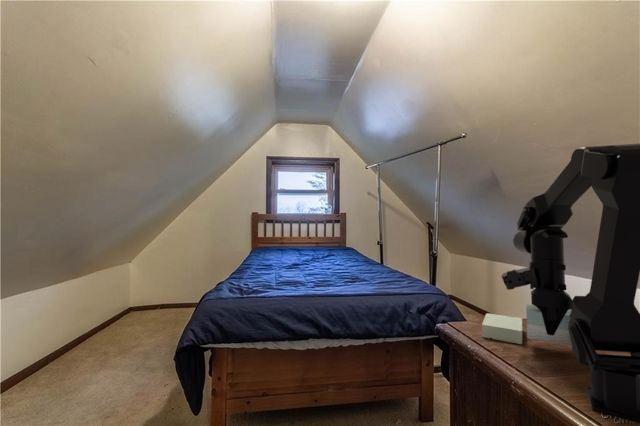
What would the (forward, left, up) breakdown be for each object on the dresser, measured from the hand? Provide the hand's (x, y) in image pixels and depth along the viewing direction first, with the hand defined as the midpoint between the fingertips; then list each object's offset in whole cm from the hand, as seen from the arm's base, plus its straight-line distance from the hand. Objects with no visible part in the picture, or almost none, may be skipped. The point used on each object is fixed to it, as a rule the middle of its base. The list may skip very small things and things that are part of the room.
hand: (549, 330), depth 65 cm
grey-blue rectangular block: (0, 0, -2) cm, 2 cm away
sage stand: (+6, +9, -4) cm, 12 cm away
